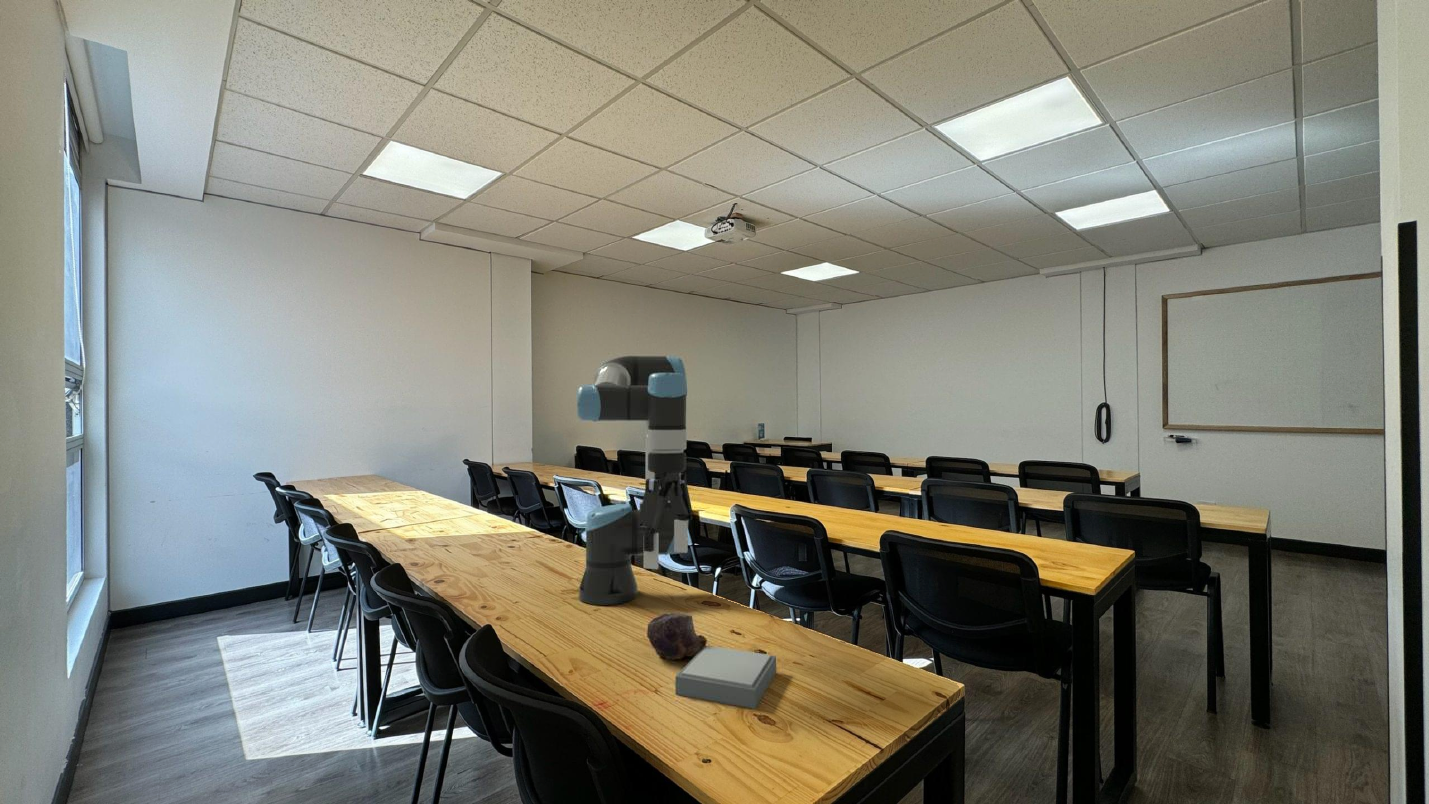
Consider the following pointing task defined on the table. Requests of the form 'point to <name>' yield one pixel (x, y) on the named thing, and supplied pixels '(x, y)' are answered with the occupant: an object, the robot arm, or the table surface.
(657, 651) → the rock
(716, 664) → the grey flat square block
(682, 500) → the robot arm
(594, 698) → the table surface
